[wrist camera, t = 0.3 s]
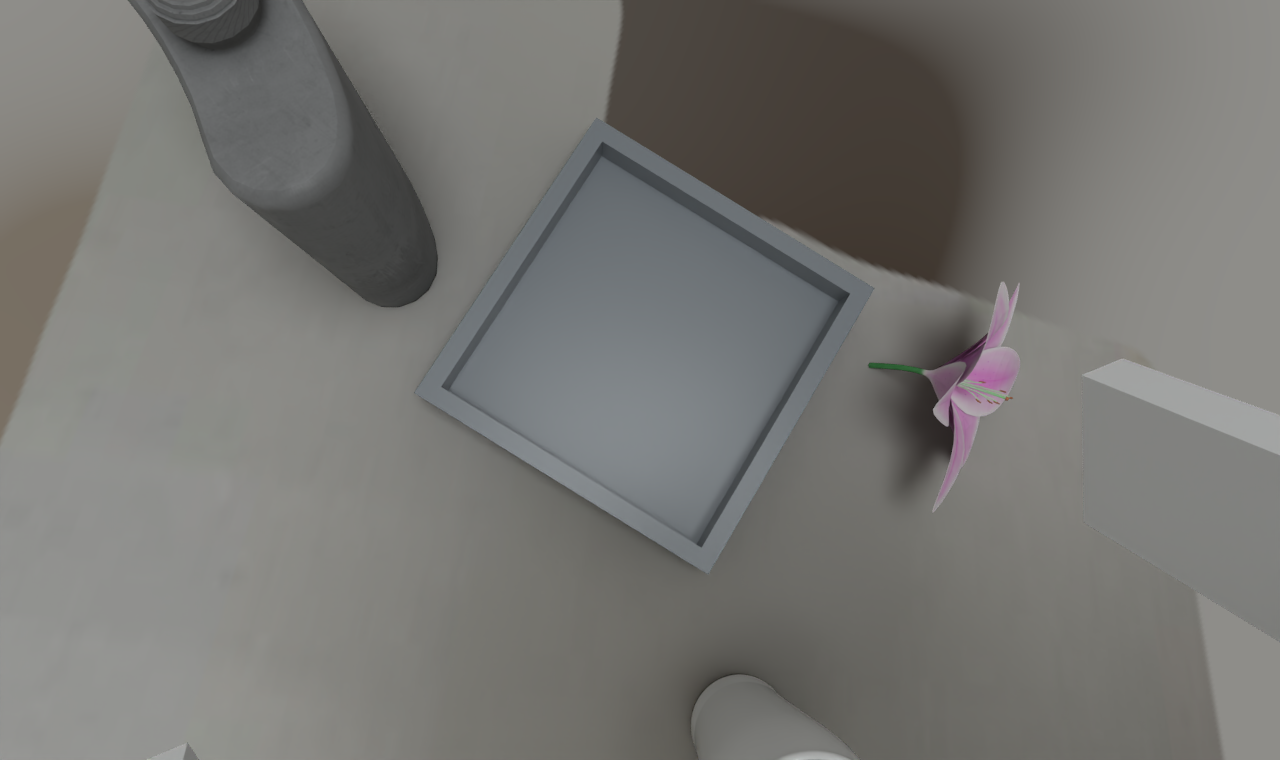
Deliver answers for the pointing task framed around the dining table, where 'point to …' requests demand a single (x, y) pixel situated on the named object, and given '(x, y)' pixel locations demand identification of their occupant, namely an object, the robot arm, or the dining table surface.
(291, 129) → the flask
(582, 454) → the tray
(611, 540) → the dining table surface
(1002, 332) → the lily
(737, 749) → the drinking glass
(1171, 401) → the robot arm
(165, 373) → the dining table surface
